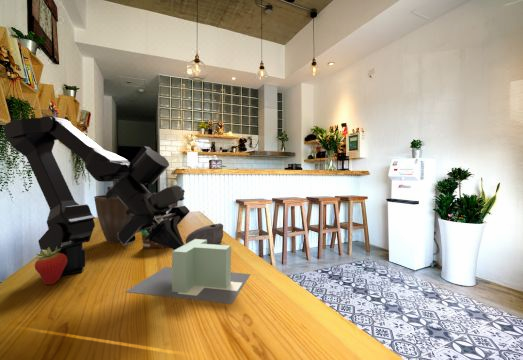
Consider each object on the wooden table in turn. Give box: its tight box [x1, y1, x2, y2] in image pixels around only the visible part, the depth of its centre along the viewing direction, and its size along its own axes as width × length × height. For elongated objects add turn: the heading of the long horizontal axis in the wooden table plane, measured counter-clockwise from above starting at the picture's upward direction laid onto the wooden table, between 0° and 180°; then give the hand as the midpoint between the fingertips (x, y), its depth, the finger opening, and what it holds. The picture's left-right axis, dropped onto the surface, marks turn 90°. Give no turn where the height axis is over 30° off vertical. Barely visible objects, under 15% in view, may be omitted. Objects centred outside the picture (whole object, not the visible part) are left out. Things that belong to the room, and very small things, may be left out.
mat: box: [124, 266, 251, 305], centre depth 54 cm, size 22×14×1 cm, turn 79°
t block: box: [171, 239, 232, 293], centre depth 53 cm, size 10×10×8 cm
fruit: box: [34, 246, 67, 285], centre depth 54 cm, size 5×5×8 cm
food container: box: [141, 230, 167, 250], centre depth 82 cm, size 12×6×10 cm, turn 143°
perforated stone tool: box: [185, 223, 224, 245], centre depth 82 cm, size 15×5×7 cm, turn 139°
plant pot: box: [93, 194, 134, 244], centre depth 89 cm, size 15×15×16 cm
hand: (183, 250), depth 54 cm, fingers closed, pressing on t block
